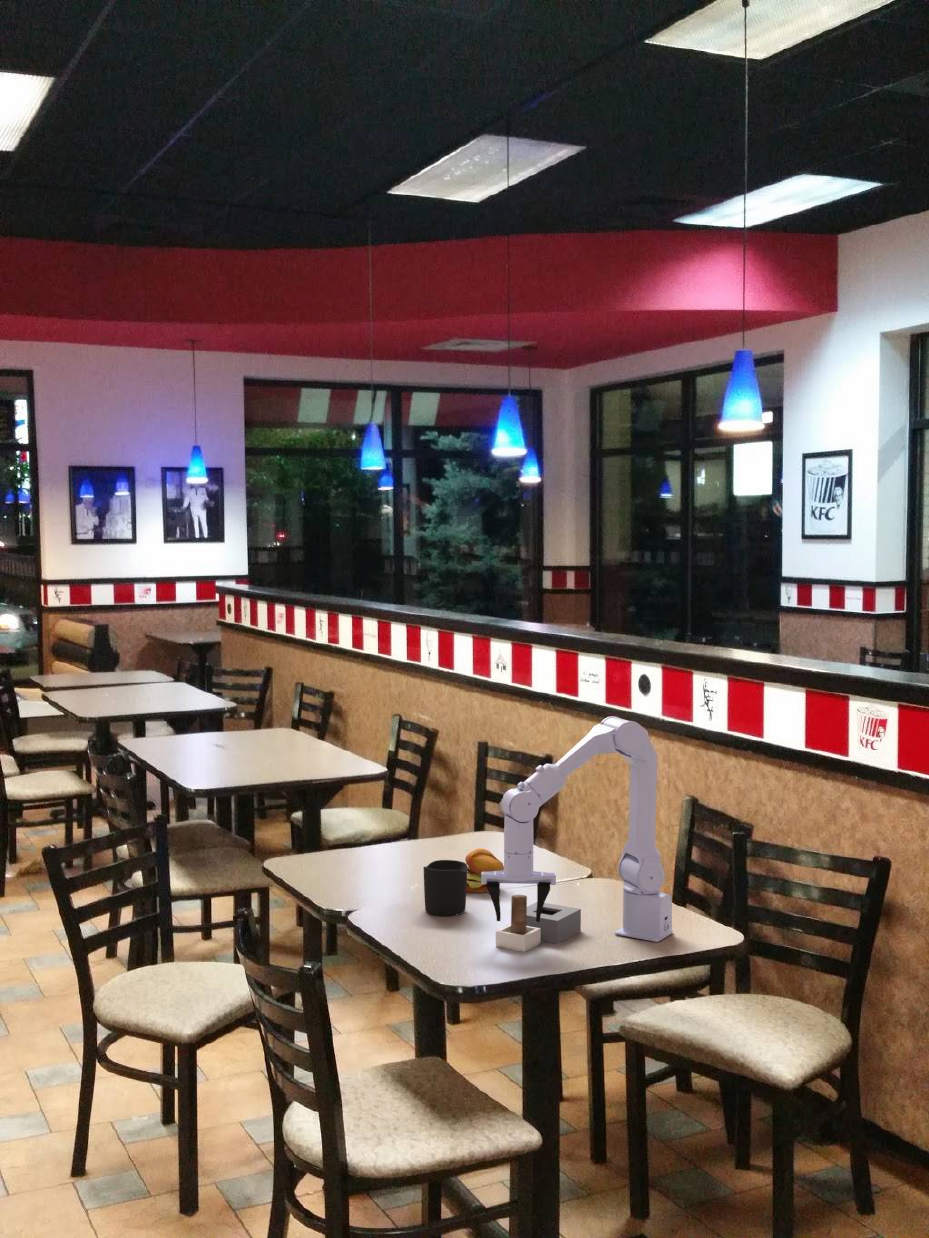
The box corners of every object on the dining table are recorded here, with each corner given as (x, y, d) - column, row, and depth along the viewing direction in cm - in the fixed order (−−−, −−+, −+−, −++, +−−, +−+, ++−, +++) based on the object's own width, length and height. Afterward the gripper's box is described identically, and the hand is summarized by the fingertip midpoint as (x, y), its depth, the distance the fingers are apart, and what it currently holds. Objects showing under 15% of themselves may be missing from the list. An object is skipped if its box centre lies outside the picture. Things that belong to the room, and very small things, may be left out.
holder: (540, 943, 240) (540, 928, 240) (524, 951, 235) (524, 936, 235) (512, 938, 244) (512, 923, 244) (495, 946, 238) (495, 931, 238)
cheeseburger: (467, 879, 289) (477, 839, 287) (506, 896, 284) (515, 856, 282) (445, 888, 280) (454, 847, 279) (484, 906, 275) (494, 864, 274)
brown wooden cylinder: (529, 941, 240) (529, 896, 239) (520, 945, 237) (521, 899, 237) (516, 939, 241) (517, 893, 241) (507, 942, 239) (508, 896, 239)
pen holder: (474, 913, 261) (474, 867, 260) (435, 919, 256) (435, 872, 256) (455, 903, 269) (455, 858, 269) (416, 908, 265) (416, 862, 264)
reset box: (580, 930, 249) (580, 908, 248) (557, 943, 240) (557, 920, 240) (537, 923, 254) (537, 901, 254) (513, 935, 246) (513, 912, 245)
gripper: (555, 846, 242) (554, 914, 243) (482, 845, 243) (481, 913, 243) (556, 855, 235) (556, 925, 236) (481, 854, 236) (480, 923, 236)
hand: (518, 920), depth 239 cm, fingers open, 7 cm apart
